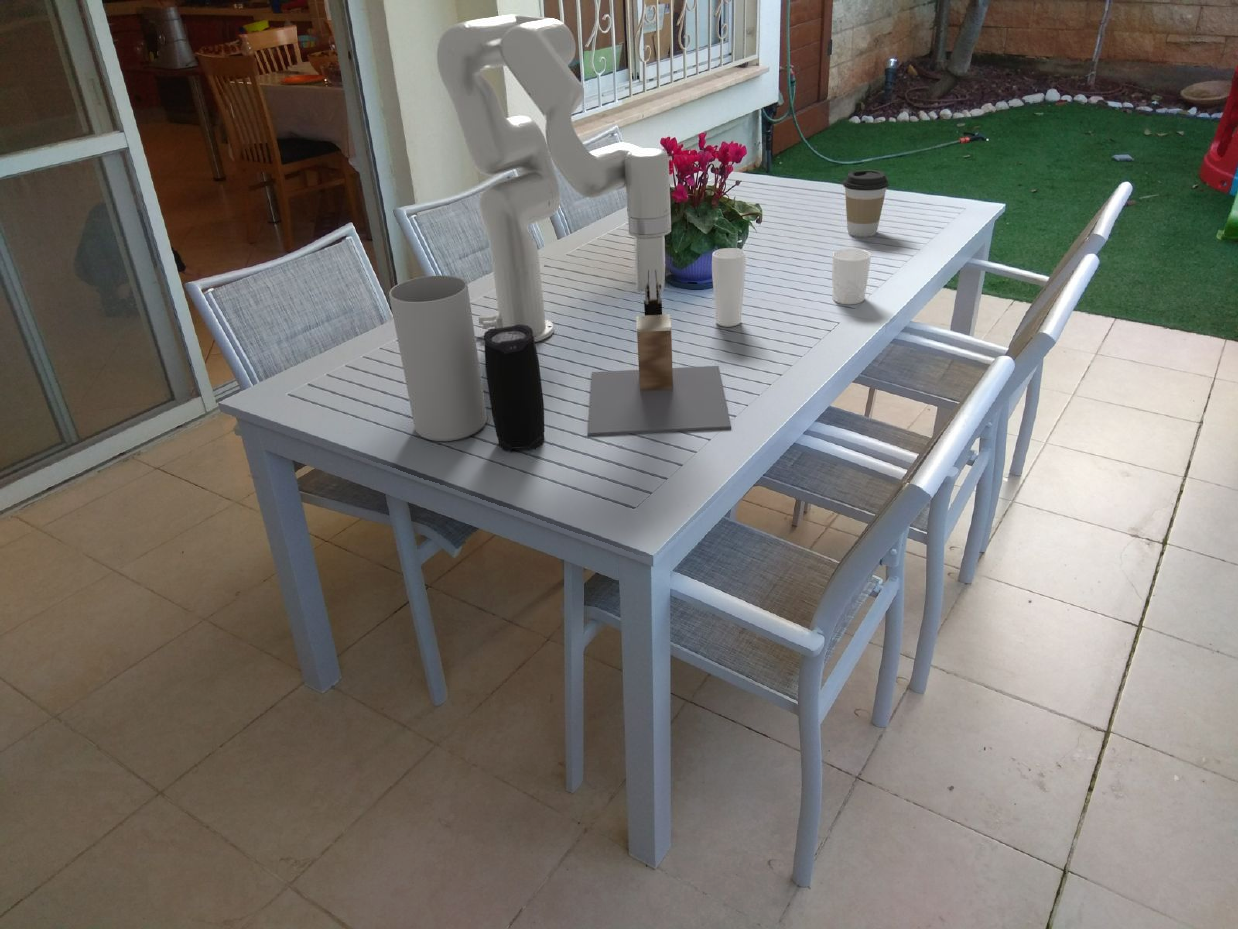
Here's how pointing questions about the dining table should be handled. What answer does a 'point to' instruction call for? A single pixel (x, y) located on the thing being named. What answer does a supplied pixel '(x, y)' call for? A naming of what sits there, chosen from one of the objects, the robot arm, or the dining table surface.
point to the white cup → (850, 275)
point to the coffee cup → (864, 201)
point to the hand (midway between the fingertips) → (653, 321)
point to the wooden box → (654, 352)
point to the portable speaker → (515, 387)
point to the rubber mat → (657, 403)
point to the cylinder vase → (439, 356)
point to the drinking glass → (728, 285)
